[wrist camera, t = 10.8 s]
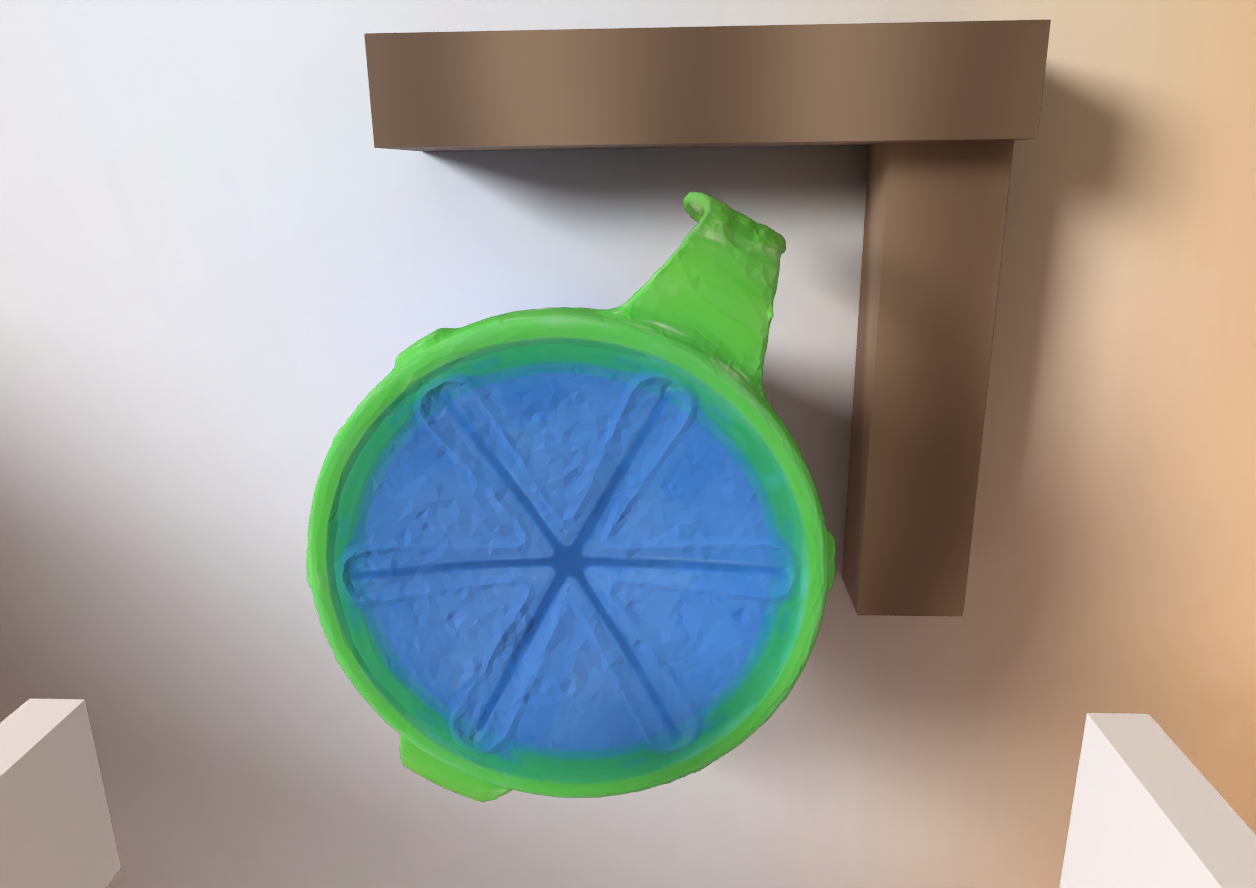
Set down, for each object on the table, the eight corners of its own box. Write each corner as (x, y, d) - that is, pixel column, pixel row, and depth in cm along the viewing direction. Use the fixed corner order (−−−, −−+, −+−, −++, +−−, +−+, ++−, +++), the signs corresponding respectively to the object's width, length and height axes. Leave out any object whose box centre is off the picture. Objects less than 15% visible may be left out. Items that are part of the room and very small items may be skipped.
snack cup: (601, 108, 25) (555, 68, 15) (902, 325, 26) (1037, 417, 16) (332, 535, 29) (159, 720, 19) (603, 704, 30) (570, 957, 21)
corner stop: (451, 573, 29) (417, 634, 25) (412, 54, 25) (364, 33, 21) (938, 578, 28) (979, 642, 25) (990, 43, 24) (1051, 19, 20)
